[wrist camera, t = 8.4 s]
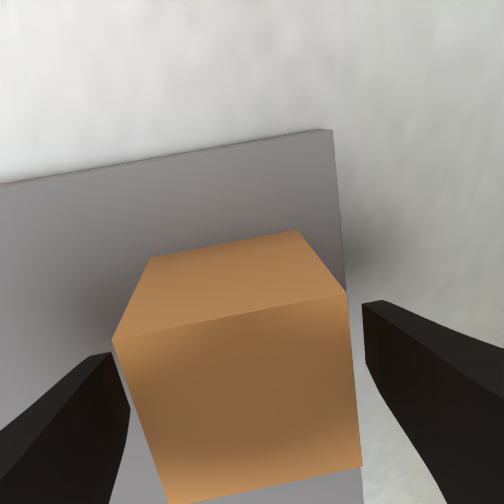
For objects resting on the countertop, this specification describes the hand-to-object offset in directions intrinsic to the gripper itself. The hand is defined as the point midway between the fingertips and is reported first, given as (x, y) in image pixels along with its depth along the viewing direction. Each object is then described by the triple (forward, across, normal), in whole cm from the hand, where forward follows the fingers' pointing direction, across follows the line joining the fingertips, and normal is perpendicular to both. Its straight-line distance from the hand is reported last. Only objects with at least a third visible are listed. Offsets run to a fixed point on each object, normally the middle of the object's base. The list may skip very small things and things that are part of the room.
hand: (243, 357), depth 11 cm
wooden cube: (+3, 0, 0) cm, 3 cm away
